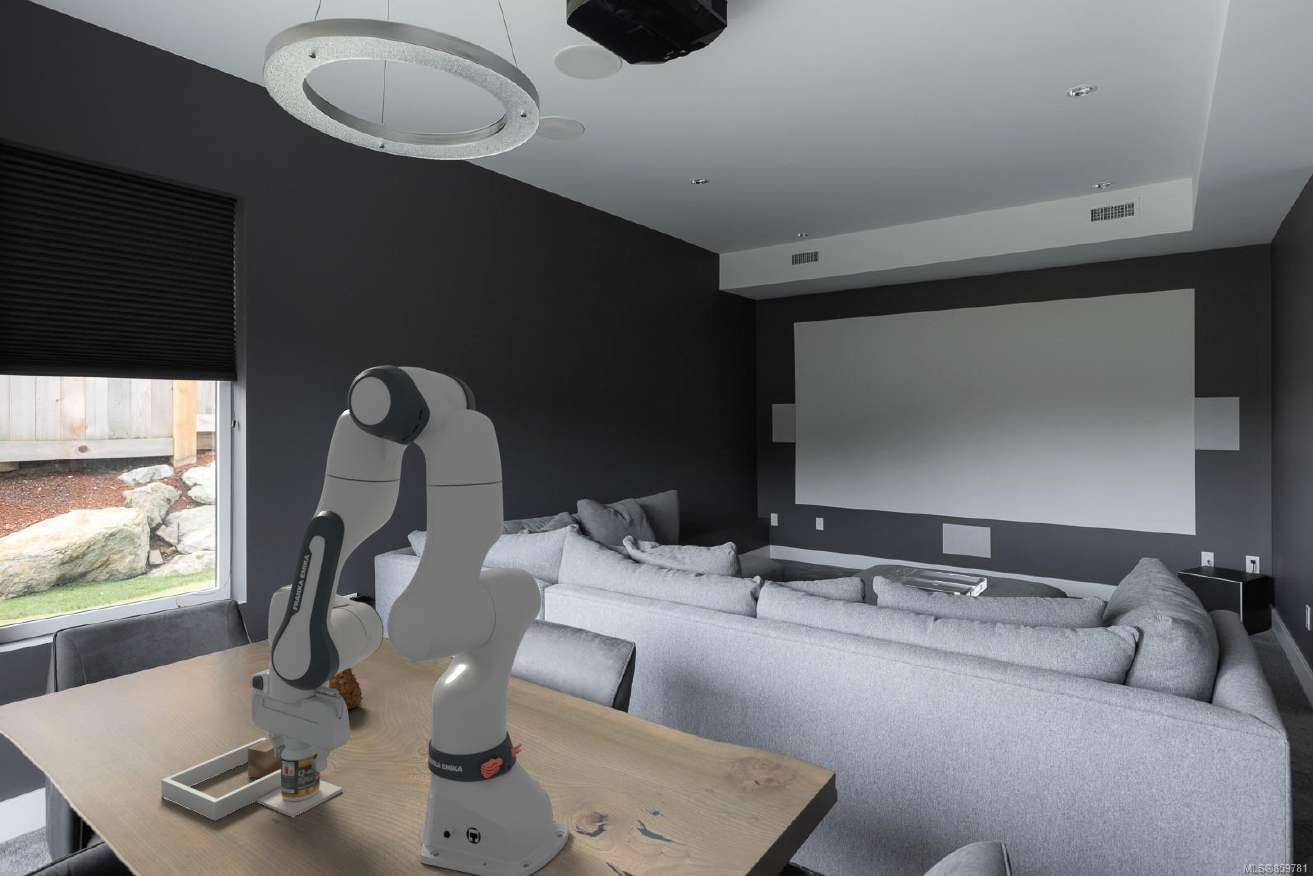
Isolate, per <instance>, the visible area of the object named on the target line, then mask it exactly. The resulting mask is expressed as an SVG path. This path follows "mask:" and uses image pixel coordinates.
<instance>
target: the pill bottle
mask: <svg viewBox="0 0 1313 876" xmlns="http://www.w3.org/2000/svg"><path fill="white" fill-rule="evenodd" d="M284 737H285V736H284ZM284 744H285V746H286V748H285V749H284V750H283V751H282V754H281V796H282V798H283V799H285V800H287V801H300V800H304V799H307V798H310V797H312V796H313V795H315V794H316V793H317V792H318V791H319V788H320V780H321V775H320V774H321V772H317V771H314V770H312V760H313V759H316V757H317V754H318V752H316V751H315V746H312V745H309V744H306V743H303V742H300V741H297V740H295V739H291V738H288V737H285V740H284Z"/></svg>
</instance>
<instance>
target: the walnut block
mask: <svg viewBox="0 0 1313 876" xmlns="http://www.w3.org/2000/svg"><path fill="white" fill-rule="evenodd" d="M280 769H281V759H279V758H277V757H275V756H274V747H273V745H272V743H271V740H270V738H267V739H265V740H263V741H261V742H260V743H258V744H256V745H254V746H252V747H250V748H248V763H247V777H248V776H251V777H250V778H252V777H254V778H253V779H257V778H263V777H265V776H267V775H269V774H271V773H273V772H275V771H278V770H280Z"/></svg>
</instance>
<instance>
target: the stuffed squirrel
mask: <svg viewBox="0 0 1313 876" xmlns="http://www.w3.org/2000/svg"><path fill="white" fill-rule="evenodd" d="M357 679H358V678H357V677H356V674H355V673H353V668H352V667H350V668H348V669H346V670H344V671H342V672H340V673H338V674H336V675H335V676H334V677H332V678H331V679H330V680H329V687H328V688H330V689H331V688H333V689H336V690H338V692H339V694H340V695H341V697H342V698H343V699H344V701H345V703H346V706H347V710H348V711H349V710H353V709H355V708H357V707H358V706H360V703H362V702H361V701H362V700H364V697H363V696H362V693H363V692H362V688H361V687H360V682H359V681H357Z"/></svg>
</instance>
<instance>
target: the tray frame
mask: <svg viewBox="0 0 1313 876" xmlns="http://www.w3.org/2000/svg"><path fill="white" fill-rule="evenodd" d="M265 739H268V738H266V737H261V738H259V739H256V740H253V741H252V742H250V743H247V744H244V745H242V746H240V747H237V748H235V749H232V750H230V751H227V752H225V753H223V754H221V755H217V756H216V757H213V758H211V759H209V760H205V761H204V762H201V763H198V764H196V765H194V766H191V767H189V768H187V769H186V768H185V769H184V770H181V771H180V772H177V773H174V774H173V775H170V776H167V777H165V778H162V779H161V798H162V797H166V798H168V799H169V800H172V801H175V802H177V803H179V804H181V805H183V806H185V807H188V808H190V809H191V810H195V811H197V812H199V813H201V814H203V815H206V816H208V817H209V818H211V819H213V820H217V819H219V820H221V819H220V817H223V816H225V815H227V814H229V813H231V812H233V811H234V810H238V809H239V808H242V807H244V806H246V807H248V806H250V805H251V804H250V803H252V802H254V801H256V802H257V799H259V798H261V797H264V796H266V795H268V794H270V793H272V792H274V791H276V790H278V789H280V788H281V769H280V770H278V771H275V772H273V773H271V774H269V775H267V776H265V777H263V778H260V779H257V780H254V781H252V782H250V783H248V784H246V785H243V786H241V787H240V788H237V789H235V790H233V791H231V792H229V793H226V794H224V795H222V796H220V797H217V798H216V797H215V796H212V795H210V794H207V793H204V792H202V791H200V790H197V789H195V788H193V787H191V788H190V787H189V786H192V785H193V784H195V783H199V782H201V781H203V780H205V779H207V778H211V777H213V776H215V775H217V774H220V773H222V772H225V771H227V770H229V769H232V770H234V769H236V768H237V767H236V766H239V765H241V766H243V765H245V763H246V764H248V763H247V762H248V748H250V747H252V746H254V745H256V744H258V743H260V742H261V741H263V740H265ZM235 767H236V768H235ZM239 767H240V766H239ZM233 768H234V769H233ZM227 772H228V771H227ZM225 773H226V772H225ZM220 775H221V774H220ZM211 779H212V778H211ZM254 803H255V802H254ZM249 804H250V805H249ZM252 804H253V803H252ZM247 805H248V806H247ZM244 808H245V807H244ZM242 809H243V808H242ZM238 811H239V810H238ZM225 817H226V816H225ZM223 818H224V817H223ZM211 819H210V820H211ZM213 820H212V821H213ZM217 821H218V820H217Z"/></svg>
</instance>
